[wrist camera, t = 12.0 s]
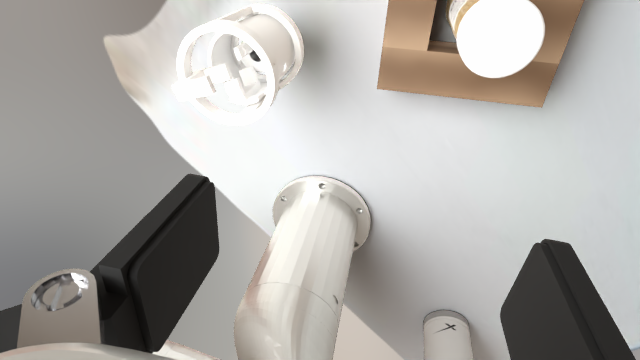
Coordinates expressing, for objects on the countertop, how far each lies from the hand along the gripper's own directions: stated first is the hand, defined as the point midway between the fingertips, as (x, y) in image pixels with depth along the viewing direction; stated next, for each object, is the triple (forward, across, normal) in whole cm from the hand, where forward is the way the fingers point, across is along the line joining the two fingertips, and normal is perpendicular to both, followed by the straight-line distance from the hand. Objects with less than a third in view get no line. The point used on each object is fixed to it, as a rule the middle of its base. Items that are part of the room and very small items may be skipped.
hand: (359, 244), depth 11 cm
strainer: (+29, +11, 0) cm, 31 cm away
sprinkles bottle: (+29, -6, -4) cm, 30 cm away
